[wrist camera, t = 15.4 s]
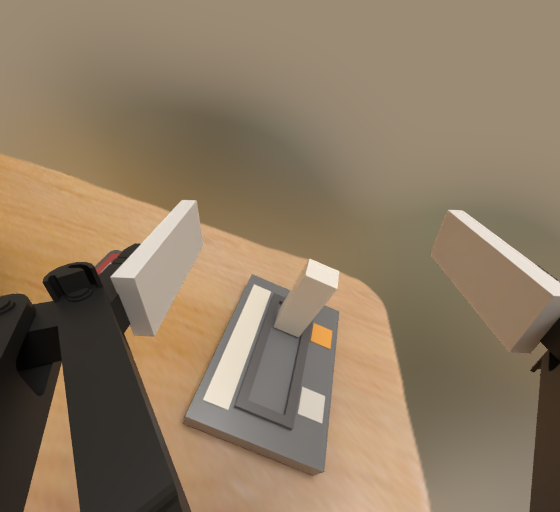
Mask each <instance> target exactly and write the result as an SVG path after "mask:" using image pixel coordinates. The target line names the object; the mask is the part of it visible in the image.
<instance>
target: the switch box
mask: <svg viewBox="0 0 560 512" xmlns="http://www.w3.org/2000/svg"><path fill="white" fill-rule="evenodd" d="M289 292H290V290H288V289H285V288H283V287H281V286H278V285H276V284H274V283H271V282H269V281H267V280H264V279H262V278H260V277H257V276H255V275H253V274H252V275H251V277H250V279H249V282H248V284H247V286H246V288H245V290H244V292H243V294H242V296H241V299H240V301H239V303H238V305H237V307H236V309H235V311H234V313H233V316H232V318H231V320H230V322H229V324H228V326H227V328H226V330H225V333H224V335H223V337H222V339H221V341H220V343H219V345H218V348H217V350H216V352H215V354H214V356H213V358H212V360H211V362H210V365H209V367H208V369H207V371H206V373H205V375H204V377H203V379H202V382H201V384H200V386H199V388H198V390H197V392H196V394H195V396H194V399H193V401H192V403H191V405H190V407H189V409H188V411H187V413H186V416H185V418H184V422H183V424H186V425H188V426H191V427H193V428H196V429H198V430H201V431H203V432H206V433H208V434H211V435H213V436H216V437H218V438H221V439H223V440H225V441H228V442H230V443H233V444H235V445H238V446H240V447H243V448H245V449H248V450H250V451H253V452H255V453H258V454H260V455H263V456H265V457H268V458H270V459H273V460H275V461H278V462H280V463H283V464H285V465H288V466H290V467H293V468H295V469H298V470H300V471H303V472H305V473H308V474H310V475H316V474H320V473H323V472H324V468H325V457H326V447H327V436H328V425H329V415H330V404H331V393H332V383H333V372H334V361H335V351H336V340H337V329H338V319H339V311H336V310H334V309H332V308H329V307H327V306H325V305H324V306H323V308H322V309H321V310H320V311H319V313H318V314H317V315H316V316H315V318H314V319H313V320H312V321H311V323H310V324H309V325H308V326H307V328H306V329H305V330H304V331H303V333H302V334H301V335H300V336H299V338H298V337H296V336H293V335H291V334H289V333H286V332H284V331H281V330H279V329H277V328H274V327H273V326H274V323H275V319H276V316H277V313H278V310H279V309H280V307H281V305H282V304H283V302H284V300H285V299H286V297H287V295H288V294H289Z"/></svg>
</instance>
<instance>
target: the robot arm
mask: <svg viewBox="0 0 560 512" xmlns="http://www.w3.org/2000/svg"><path fill="white" fill-rule="evenodd" d="M202 247H203V239H202V233H201V226H200V220H199V213H198V207H197V201H195V200H182V201H181V202H180V203H179V204H178V205H177V206H176V207H175V208H174V209H173V210H172V211H171V212H170V213H169V215H168V216H167V217H166V218H165V219H164V220H163V221H162V222H161V223H160V224H159V225H158V226H157V227H156V229H155V230H154V231H153V232H152V233H151V234H150V235H149V236H148V237H147V238H146V239H145V240H144V241H143V243H142V244H133V245H132V246H130V247H128V248H126V249H124V250H123V251H122V252H121V253H120V254H119V255H118V256H117V258H115V259H114V260H113V261H112V262H111V264H109V265H108V266H107V267H106V268H105V269H104V270H103V271H102V272H101V273H100V274H99V275H98V273H97V271H96V269H95V267H94V266H93V265H92V264H91V263H87V262H76V263H71V264H67V265H64V266H61V267H58V268H56V269H55V270H53V271H51V272H50V273H48V274H47V275H46V276H45V277H44V279H43V284H44V286H45V287H46V289H47V291H48V292H49V294H50V296H51V297H52V299H53V301H51V302H45V303H39V304H33V305H32V303H31V302H30V300H29V298H28V297H27V296H25V295H24V294H9V295H5V296H1V297H0V512H23V511H24V507H25V503H26V499H27V496H28V492H29V488H30V484H31V480H32V476H33V472H34V468H35V464H36V460H37V457H38V453H39V449H40V445H41V441H42V437H43V433H44V429H45V425H46V421H47V418H48V414H49V410H50V406H51V402H52V398H53V394H54V390H55V386H56V382H57V378H58V375H59V371H60V367H61V363H62V365H63V374H64V382H65V390H66V398H67V406H68V414H69V423H70V431H71V439H72V447H73V455H74V463H75V472H76V480H77V488H78V496H79V504H80V512H191V510H190V507H189V504H188V502H187V499H186V496H185V494H184V491H183V488H182V486H181V483H180V480H179V478H178V475H177V472H176V470H175V467H174V464H173V462H172V459H171V456H170V454H169V451H168V448H167V446H166V443H165V440H164V438H163V435H162V433H161V430H160V427H159V425H158V422H157V419H156V417H155V414H154V411H153V409H152V406H151V403H150V401H149V398H148V395H147V393H146V390H145V387H144V385H143V382H142V379H141V377H140V374H139V371H138V369H137V366H136V363H135V361H134V358H133V355H132V353H131V350H130V347H129V345H128V342H127V340H126V337H125V335H124V333H125V331H126V330H127V328H128V327H129V325H130V326H131V329H132V331H133V334H134V335H136V336H155V334H156V333H157V331H158V329H159V327H160V325H161V323H162V321H163V320H164V318H165V316H166V314H167V312H168V310H169V308H170V307H171V305H172V303H173V301H174V299H175V297H176V295H177V294H178V292H179V290H180V288H181V286H182V284H183V282H184V281H185V279H186V277H187V275H188V273H189V271H190V269H191V268H192V266H193V264H194V262H195V260H196V258H197V256H198V255H199V253H200V251H201V249H202ZM430 255H431V256H432V258H433V259H434V260H435V261H436V263H437V264H438V265H439V266H440V268H441V269H442V270H443V271H444V273H445V274H446V275H447V276H448V277H449V279H450V280H451V281H452V282H453V284H454V285H455V286H456V287H457V288H458V290H459V291H460V292H461V294H462V295H463V296H464V297H465V298H466V300H467V301H468V302H469V303H470V305H471V306H472V307H473V308H474V310H475V311H476V312H477V313H478V315H479V316H480V317H481V318H482V319H483V321H484V322H485V323H486V324H487V325H488V327H489V328H490V329H491V330H492V332H493V333H494V334H495V336H496V337H497V338H498V339H499V340H500V342H501V343H502V344H503V345H504V346H505V348H506V349H507V350H508V352H511V353H531V352H532V351H533V350H534V349H535V347H536V346H537V345H538V344H539V343H540V342H541V343H542V344H543V345H544V346H545V347H546V348H547V349H548V350H547V352H546V353H545V354H544V355H543V356H542V357H541V358H540V359H539V360H538V361H537V363H536V364H535V365H534V366H533V367H532V369H531V370H530V371H532V372H535V371H536V370H537V369H541V374H540V388H539V401H538V413H537V426H536V438H535V451H534V463H533V464H534V465H533V476H532V489H531V502H530V512H560V282H558V280H557V279H556V278H554V277H553V276H552V275H549V273H548V272H546V271H545V270H544V269H542V268H541V267H540V266H538V265H536V264H534V263H533V262H531V261H530V260H528V259H527V258H526V257H524V256H523V255H522V254H520V253H519V252H518V251H516V250H515V249H514V248H512V247H511V246H510V245H508V244H507V243H505V242H504V241H503V240H502V239H500V238H499V237H498V236H496V235H495V234H493V233H492V232H491V231H489V230H488V229H487V228H485V227H484V226H483V225H481V224H480V223H479V222H477V221H476V220H475V219H473V218H472V217H471V216H469V215H468V214H467V213H465V212H464V211H462V210H447V213H446V215H445V218H444V220H443V223H442V225H441V228H440V230H439V233H438V235H437V238H436V241H435V243H434V245H433V248H432V250H431V253H430Z"/></svg>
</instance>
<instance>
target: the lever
mask: <svg viewBox="0 0 560 512" xmlns="http://www.w3.org/2000/svg"><path fill="white" fill-rule="evenodd" d="M338 278H339V271H337V270H335V269H332V268H330V267H328V266H325V265H323V264H321V263H318V262H316V261H314V260H312V259H309V260H308V262H307V264H306V265H305V267H304V269H303V270H302V272H301V274H300V275H299V277H298V279H297V280H296V282H295V284H294V285H293V287H292V289H291V290H290V292H289V294H288V295H287V297H286V299H285V300H284V302H283V304H282V305H281V307H280V309H279V310H278V313H277V316H276V319H275V323H274V326H273V327H274V328H277V329H279V330H281V331H284V332H286V333H289V334H291V335H293V336H296V337H298V338H299V336H300V335H301V334H302V333H303V331H304V330H305V329H306V328H307V326H308V325H309V324H310V323H311V321H312V320H313V319H314V318H315V316H316V315H317V314H318V313H319V311H320V310H321V309H322V308H323V306H324V305H325V304H326V303H327V301H328V300H329V299H330V298H331V296H332V295H333V294H334V293H335V291H336V290H337V287H338Z"/></svg>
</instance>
